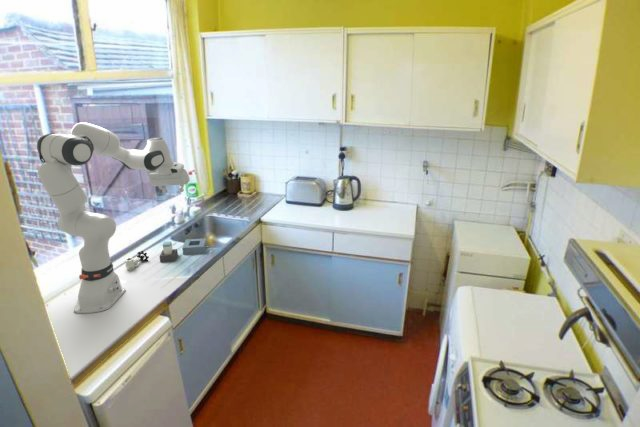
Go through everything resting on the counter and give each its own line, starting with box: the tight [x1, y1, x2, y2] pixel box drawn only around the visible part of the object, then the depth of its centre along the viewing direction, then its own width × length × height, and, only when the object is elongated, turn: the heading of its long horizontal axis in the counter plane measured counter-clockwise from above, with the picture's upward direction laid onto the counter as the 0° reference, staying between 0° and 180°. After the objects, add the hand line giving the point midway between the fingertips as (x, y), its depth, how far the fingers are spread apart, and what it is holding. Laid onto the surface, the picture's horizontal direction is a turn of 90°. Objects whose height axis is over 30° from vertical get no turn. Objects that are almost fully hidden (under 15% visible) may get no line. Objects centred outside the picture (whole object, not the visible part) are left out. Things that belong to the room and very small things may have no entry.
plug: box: [162, 241, 174, 255], centre depth 203 cm, size 4×4×9 cm
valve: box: [124, 250, 150, 272], centre depth 197 cm, size 7×7×12 cm
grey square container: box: [159, 248, 179, 263], centre depth 204 cm, size 7×7×4 cm
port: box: [181, 237, 208, 256], centre depth 214 cm, size 11×11×5 cm
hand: (173, 191), depth 203 cm, fingers open, 8 cm apart
